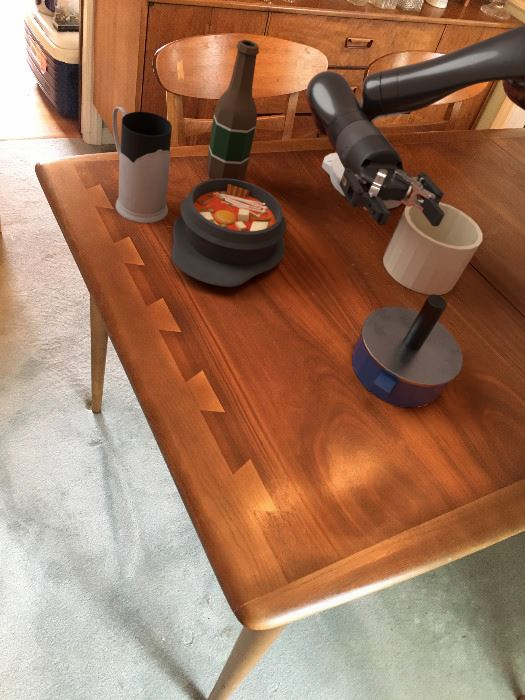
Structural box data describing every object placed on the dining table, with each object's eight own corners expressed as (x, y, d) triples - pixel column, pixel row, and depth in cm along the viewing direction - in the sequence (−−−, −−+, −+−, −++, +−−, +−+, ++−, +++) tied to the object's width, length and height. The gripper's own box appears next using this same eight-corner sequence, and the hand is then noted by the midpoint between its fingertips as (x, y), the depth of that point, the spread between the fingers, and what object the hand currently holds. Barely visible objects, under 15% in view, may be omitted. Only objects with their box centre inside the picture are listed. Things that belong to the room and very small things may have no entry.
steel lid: (472, 348, 81) (505, 302, 74) (437, 408, 71) (471, 362, 65) (385, 297, 84) (409, 250, 78) (341, 348, 75) (364, 299, 68)
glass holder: (132, 228, 91) (136, 142, 80) (90, 182, 97) (88, 96, 86) (177, 216, 95) (187, 133, 85) (134, 173, 101) (138, 91, 91)
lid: (351, 151, 126) (355, 139, 124) (421, 197, 118) (427, 184, 116) (301, 168, 116) (305, 155, 113) (375, 219, 108) (380, 206, 106)
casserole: (206, 193, 102) (213, 151, 96) (300, 230, 100) (313, 189, 94) (141, 267, 85) (144, 221, 79) (253, 312, 83) (265, 269, 77)
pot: (465, 271, 103) (492, 226, 95) (439, 306, 94) (467, 260, 87) (400, 236, 106) (422, 190, 99) (370, 267, 97) (392, 219, 90)
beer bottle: (230, 161, 112) (254, 32, 94) (252, 182, 108) (281, 52, 91) (197, 166, 107) (216, 33, 90) (219, 188, 104) (243, 54, 87)
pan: (458, 359, 86) (475, 336, 82) (413, 437, 73) (430, 413, 70) (382, 314, 89) (395, 289, 85) (326, 381, 77) (338, 356, 73)
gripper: (332, 130, 80) (377, 195, 70) (416, 136, 85) (469, 198, 75) (318, 176, 85) (357, 242, 75) (397, 179, 90) (444, 243, 80)
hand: (412, 220), depth 75 cm, fingers open, 8 cm apart
